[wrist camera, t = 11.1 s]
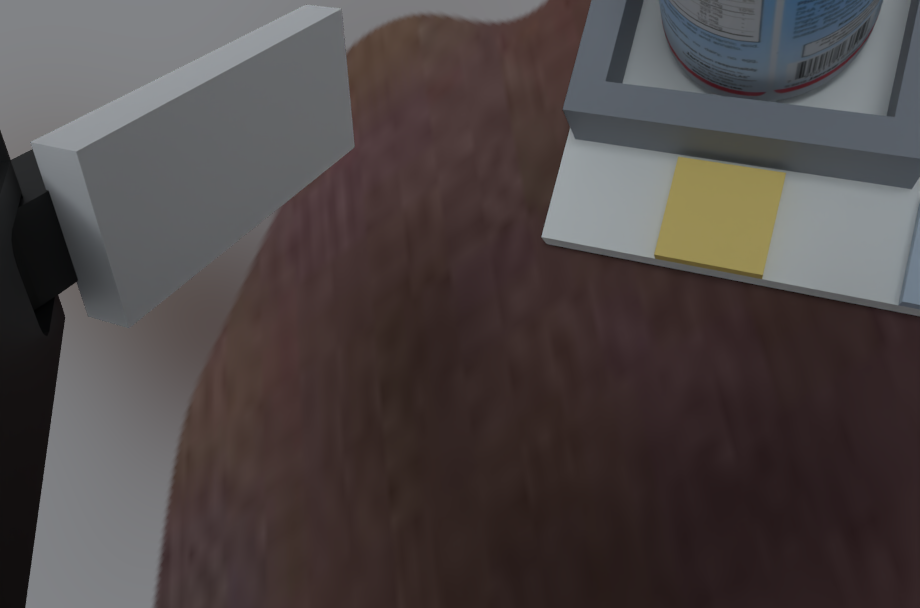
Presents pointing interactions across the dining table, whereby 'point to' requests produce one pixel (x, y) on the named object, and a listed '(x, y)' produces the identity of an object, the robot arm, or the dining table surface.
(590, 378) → the dining table surface
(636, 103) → the panel
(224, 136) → the robot arm
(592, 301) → the dining table surface
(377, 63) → the dining table surface
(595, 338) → the dining table surface
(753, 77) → the pill bottle
